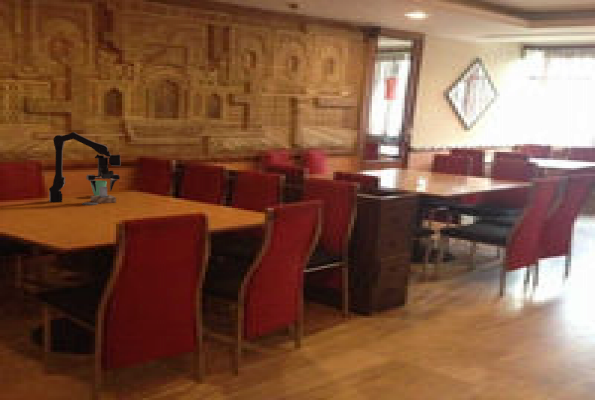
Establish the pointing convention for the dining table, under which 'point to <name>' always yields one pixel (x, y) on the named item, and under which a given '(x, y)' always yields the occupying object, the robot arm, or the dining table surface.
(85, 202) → the coaster
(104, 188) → the grey rounded cylinder
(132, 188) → the dining table surface
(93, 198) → the frame
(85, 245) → the dining table surface
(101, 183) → the mug
